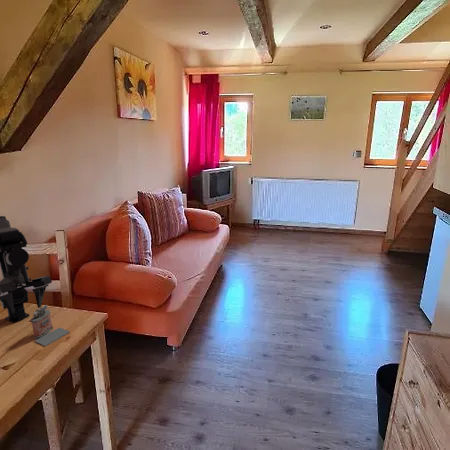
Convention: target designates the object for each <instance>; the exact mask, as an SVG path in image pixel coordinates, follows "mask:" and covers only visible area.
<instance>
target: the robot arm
mask: <svg viewBox="0 0 450 450" xmlns="http://www.w3.org/2000/svg"><path fill="white" fill-rule="evenodd" d="M27 245H28V242H27V239H26V236H25V235H24V234H23V232H22V231H20V230H19V229H18V228H17V227H11V223H10V220H8V219H7V218H6V216H5V215H0V272H1V275H2V279H1V280H0V304H1V306H2V309H3V310H7V316H5V317H4V319H5V320H6V321H8V322H11V323H13V324H15V323H17V322H19V321H22V320H23V319H26V318H27V317H29V316H30V314H29V313H27V312H26V310H25V306H24V304H25V303H29V291H28V290H27V289H26V288H30V287H33V289H32V290H31V291H32V292H33V293H34V295H35V302H36V305H37V309H40V308H41V307H42V303H43V300H44V294H45V292H46V289H47V287H49V284H52V283H53V282H52V278H51V276H49V275H45V276H41V277H36V278H33V279H32V278H31V277H29V274H28V271H29V266H26V264H27V262H28V261H29V258H30V256H29V253H28V251H27V250H26V249H23V248H27Z"/></svg>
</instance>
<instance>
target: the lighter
mask: <svg viewBox="0 0 450 450" xmlns="http://www.w3.org/2000/svg"><path fill="white" fill-rule="evenodd" d="M48 308H49V307H48V305H47V304H44V305H43V306H41V307H40V308H36V310H35V311H33V313H32V315H33V317H32V318H31V319H30V322H31V326H32V331H33V332H32V333H33V339H34V340H37V339H39V338H41V337H43V336H45V335H46V334H48V333H50V332H52V331H53V329H54V326H53V324H52V317H51V310H50V309H48Z"/></svg>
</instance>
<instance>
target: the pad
mask: <svg viewBox="0 0 450 450" xmlns="http://www.w3.org/2000/svg"><path fill="white" fill-rule="evenodd" d="M70 333H71V331H70V330H67V329H64V328H63V327H60V326H59V327H56V328H55V329H54V330H51V331H50V332H49V333H48V334H46V335H45V336H43V337H41V338H39V339H34V342H35V343H36V344H39V345H42V346H43V347H47V346H49V345H51V344H52V343H54V342H55V341H58V340H59V339H61V338H63V337H64V336H66V335H67V334H70Z"/></svg>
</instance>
